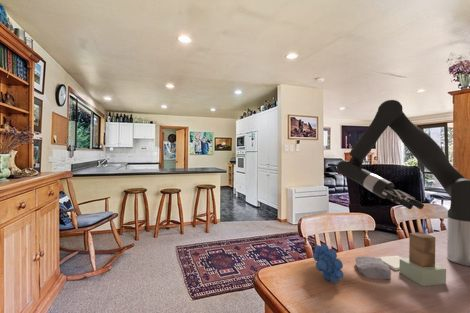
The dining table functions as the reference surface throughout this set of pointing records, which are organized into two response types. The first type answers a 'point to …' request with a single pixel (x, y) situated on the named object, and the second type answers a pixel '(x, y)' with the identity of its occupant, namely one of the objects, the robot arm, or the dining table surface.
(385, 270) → the stone block
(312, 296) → the dining table surface
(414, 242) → the walnut block
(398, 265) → the cream flat slab
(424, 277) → the green stand
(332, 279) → the grapes
